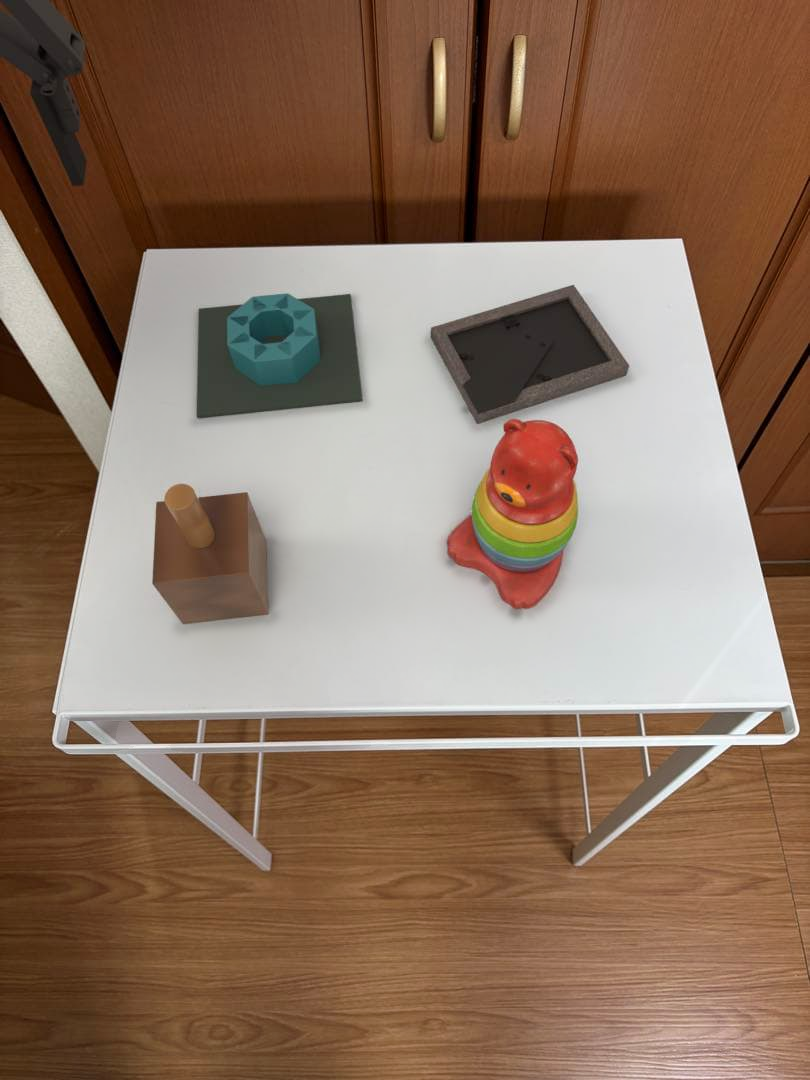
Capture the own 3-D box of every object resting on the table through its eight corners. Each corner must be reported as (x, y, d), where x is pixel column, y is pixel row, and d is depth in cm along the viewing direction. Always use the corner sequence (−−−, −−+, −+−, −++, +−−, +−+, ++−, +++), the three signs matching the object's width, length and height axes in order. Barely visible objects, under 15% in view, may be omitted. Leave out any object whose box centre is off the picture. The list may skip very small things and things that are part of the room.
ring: (235, 389, 82) (227, 364, 79) (234, 324, 87) (227, 298, 83) (322, 380, 82) (318, 355, 79) (317, 316, 87) (312, 290, 83)
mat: (197, 418, 81) (196, 416, 80) (199, 311, 88) (198, 308, 88) (362, 401, 81) (362, 398, 81) (350, 296, 89) (350, 293, 89)
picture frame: (477, 424, 80) (626, 375, 83) (478, 412, 78) (630, 363, 81) (430, 337, 86) (571, 294, 88) (430, 324, 84) (574, 281, 87)
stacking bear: (437, 549, 73) (442, 442, 57) (503, 484, 76) (525, 366, 60) (524, 619, 69) (555, 525, 53) (589, 547, 72) (636, 439, 57)
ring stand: (182, 624, 69) (124, 547, 56) (184, 549, 73) (130, 459, 60) (268, 614, 70) (231, 535, 56) (266, 540, 73) (230, 449, 60)
